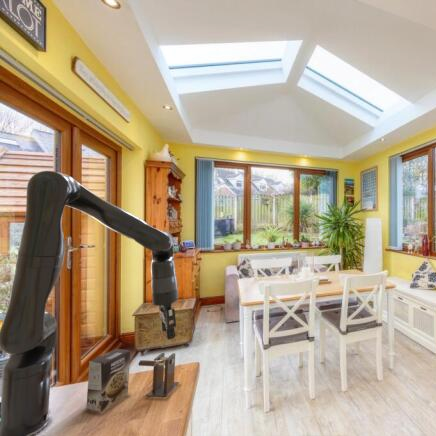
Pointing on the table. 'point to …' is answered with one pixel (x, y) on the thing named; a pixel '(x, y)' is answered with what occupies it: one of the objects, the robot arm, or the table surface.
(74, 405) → the table surface
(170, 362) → the switch bracket
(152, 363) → the switch lever
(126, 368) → the coffee box
